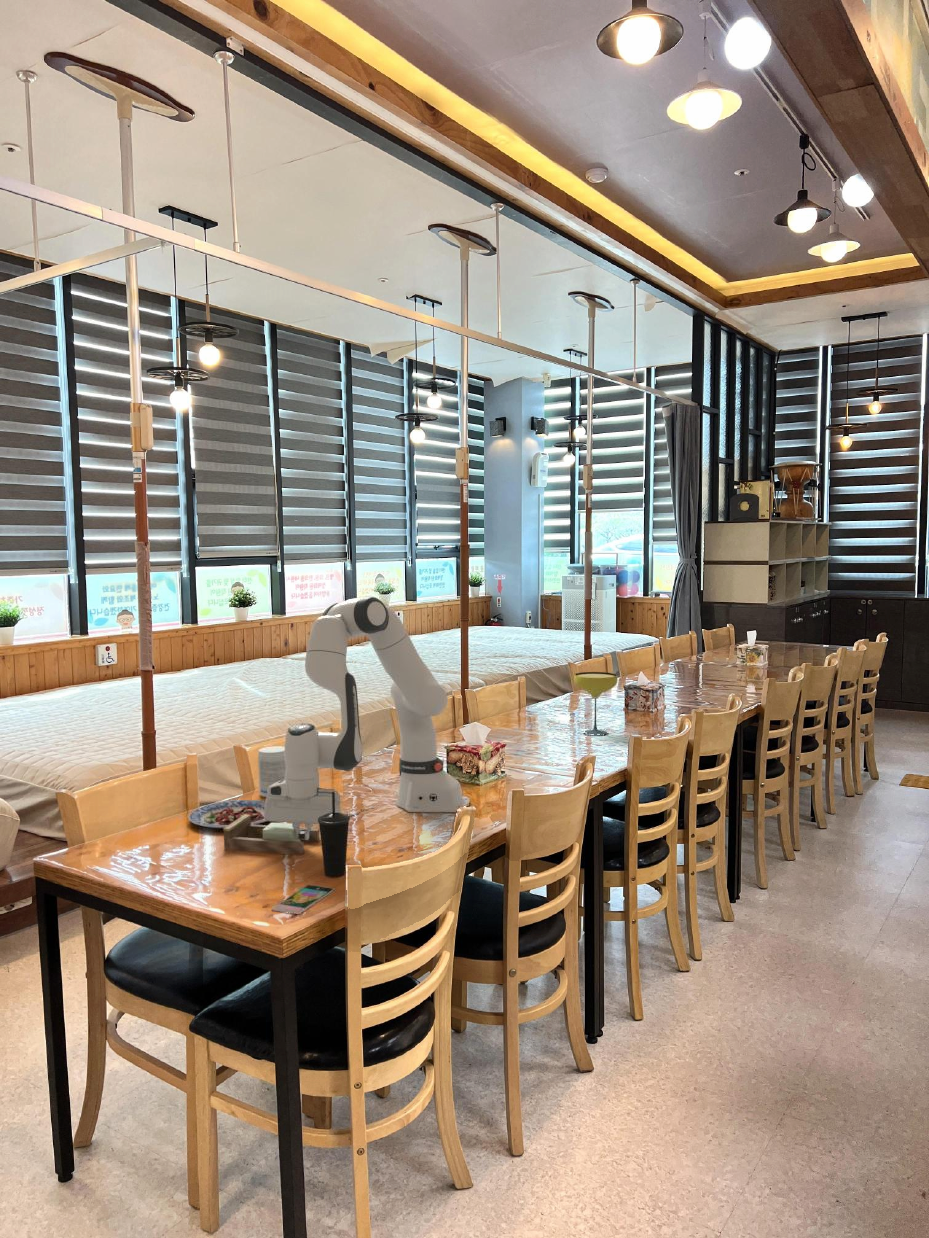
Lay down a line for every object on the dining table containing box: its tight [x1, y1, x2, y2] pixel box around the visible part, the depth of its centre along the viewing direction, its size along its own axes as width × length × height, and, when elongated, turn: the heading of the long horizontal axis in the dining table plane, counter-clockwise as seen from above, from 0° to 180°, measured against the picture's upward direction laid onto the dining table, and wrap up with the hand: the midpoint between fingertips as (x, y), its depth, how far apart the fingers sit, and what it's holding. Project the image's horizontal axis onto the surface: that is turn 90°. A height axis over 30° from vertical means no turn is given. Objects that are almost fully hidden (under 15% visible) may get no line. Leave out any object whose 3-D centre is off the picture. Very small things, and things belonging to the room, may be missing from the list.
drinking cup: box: [318, 792, 351, 878], centre depth 206 cm, size 8×8×20 cm
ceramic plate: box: [188, 799, 268, 829], centre depth 250 cm, size 26×26×3 cm
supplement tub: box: [257, 745, 286, 799], centre depth 275 cm, size 10×10×15 cm
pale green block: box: [262, 822, 301, 842], centre depth 227 cm, size 8×7×5 cm
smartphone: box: [271, 884, 335, 915], centre depth 192 cm, size 7×1×15 cm
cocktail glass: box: [573, 671, 618, 735], centre depth 364 cm, size 18×18×25 cm
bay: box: [222, 814, 321, 856], centre depth 228 cm, size 22×12×6 cm, turn 77°
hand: (303, 838), depth 226 cm, fingers closed
